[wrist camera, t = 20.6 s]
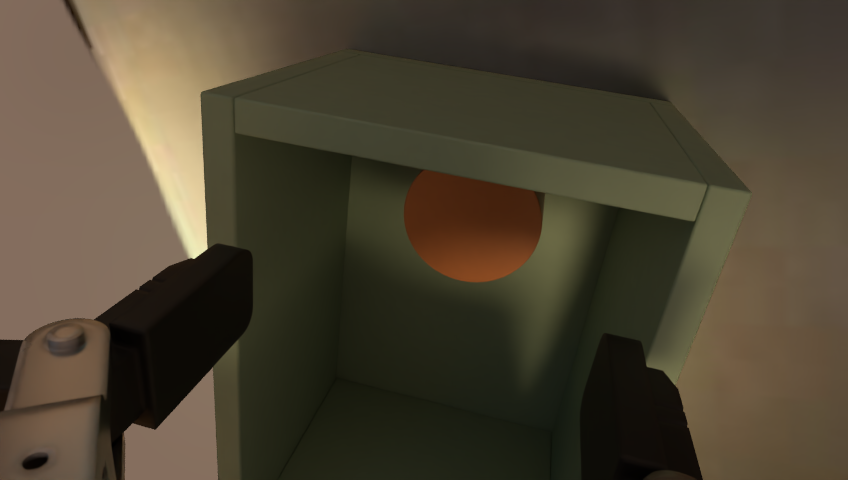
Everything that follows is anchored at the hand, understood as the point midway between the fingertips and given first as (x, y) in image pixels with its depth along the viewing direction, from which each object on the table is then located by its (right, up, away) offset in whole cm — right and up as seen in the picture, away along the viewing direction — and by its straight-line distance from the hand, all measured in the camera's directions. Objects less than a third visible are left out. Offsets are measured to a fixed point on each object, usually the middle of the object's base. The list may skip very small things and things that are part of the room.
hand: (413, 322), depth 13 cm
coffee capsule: (+3, +4, +10) cm, 12 cm away
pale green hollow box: (+2, +1, +13) cm, 13 cm away
